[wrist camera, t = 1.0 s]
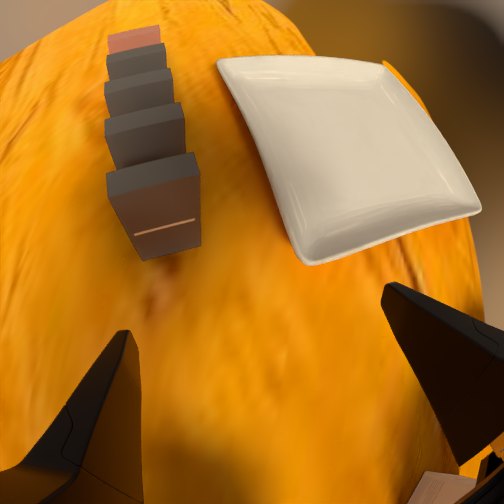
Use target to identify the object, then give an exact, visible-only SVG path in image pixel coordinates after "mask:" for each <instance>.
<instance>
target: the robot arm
mask: <svg viewBox="0 0 504 504" xmlns="http://www.w3.org/2000/svg"><path fill="white" fill-rule="evenodd" d="M381 307H382V309H383V311H384V314H385V316H386V318H387V320H388V322H389V325H390V327H391V329H392V332H393V334H394V336H395V338H396V340H397V342H398V344H399V346H400V347H401V349H402V351H403V353H404V355H405V356H406V358H407V360H408V362H409V364H410V366H411V367H412V369H413V371H414V373H415V375H416V377H417V379H418V381H419V383H420V385H421V387H422V389H423V390H424V392H425V394H426V396H427V398H428V400H429V402H430V404H431V407H432V409H433V411H434V413H435V415H436V417H437V419H438V421H439V423H440V424H441V425H440V426H441V428H442V430H443V432H444V434H445V437H446V439H447V441H448V443H449V446H450V448H451V450H452V453H453V455H454V457H455V460H456V462H457V464H458V466H459V467H460V466H461V465H463V464H464V463H466V462H467V461H468V460H470V459H471V458H472V457H474V456H475V455H476V454H478V453H479V452H480V451H482V450H483V449H484V448H485V447H487V446H488V445H489V444H490V446H491V448H492V449H493V451H492V452H491V453H490V454H489V455H487V456H486V457H485V458H484V459H483V460H481V463H480V468H479V473H478V477H477V481H476V485H475V486H476V487H475V488H473V489H472V490H471V491H470V492H468V493H467V494H466V495H464V496H463V497H462V498H460V499H459V500H458V501H456V502H455V503H453V504H504V331H502V330H500V329H497V328H495V327H493V326H490V325H487V324H486V323H484V322H481V321H479V320H477V319H475V318H473V317H470V316H469V315H467V314H465V313H463V312H460V311H458V310H456V309H454V308H452V307H450V306H448V305H446V304H444V303H441V302H439V301H437V300H435V299H433V298H431V297H428V296H426V295H424V294H422V293H420V292H418V291H415V290H413V289H411V288H409V287H407V286H404V285H402V284H400V283H398V282H390V283H387V284H386V285H385V286H384V290H383V294H382V298H381ZM0 504H144V499H143V484H142V463H141V380H140V365H139V351H138V347H137V344H136V342H135V340H134V337H133V335H132V333H131V331H130V330H119V331H117V332H116V334H115V335H114V336H113V338H112V339H111V340H110V342H109V343H108V344H107V346H106V347H105V348H104V350H103V351H102V352H101V354H100V355H99V357H98V358H97V359H96V361H95V362H94V363H93V365H92V366H91V368H90V369H89V370H88V372H87V373H86V375H85V376H84V377H83V379H82V380H81V382H80V383H79V385H78V386H77V387H76V389H75V390H74V392H73V393H72V395H71V396H70V398H69V399H68V401H67V402H66V405H64V406H63V408H62V409H61V411H60V412H59V414H58V415H57V417H56V418H55V419H54V421H53V422H52V424H51V425H50V426H49V428H48V429H47V430H46V431H45V433H44V434H43V435H42V437H41V438H40V439H39V440H38V442H37V443H36V444H35V445H34V447H33V448H32V449H31V450H30V452H29V453H28V454H27V455H26V457H25V458H24V459H23V460H22V461H21V462H20V463H19V464H17V465H16V466H14V467H12V468H10V469H7V470H4V471H1V472H0Z"/></svg>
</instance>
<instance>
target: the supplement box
mask: <svg viewBox="0 0 504 504" xmlns="http://www.w3.org/2000/svg"><path fill="white" fill-rule="evenodd" d="M476 481H477V479H473V478H469V477H465V476H461V475H455V474H446V473H438V472H430V471H425V472H424V474H423V476H422V478H421V480H420V482H419V483H418V485H417V487H416V489H415V491H414V492H413V494H412V496H411V498H410V499H409V501H408V503H407V504H453V503H455V502H456V501H458V500H459V499H460V498H462V497H463V496H464V495H466V494H467V493H468V492H470V491H471V490H472V489H473V488H475V487H476V486H475V485H476Z"/></svg>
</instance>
